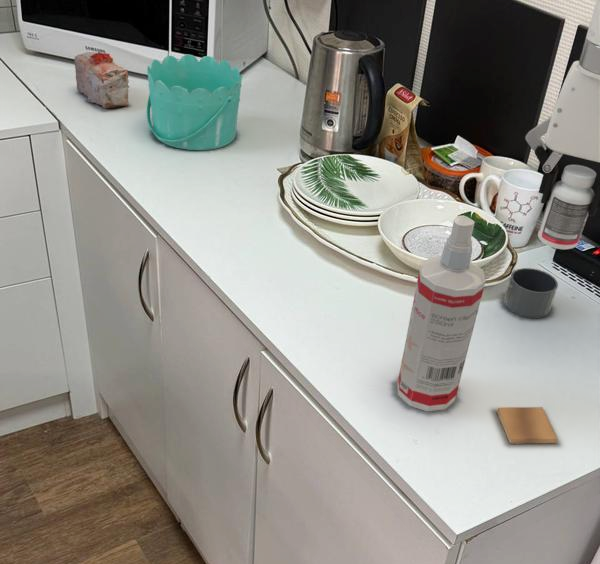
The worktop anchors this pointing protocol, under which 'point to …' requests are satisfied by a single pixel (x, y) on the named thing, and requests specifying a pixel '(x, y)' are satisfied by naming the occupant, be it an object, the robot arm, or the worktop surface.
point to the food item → (101, 79)
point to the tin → (530, 292)
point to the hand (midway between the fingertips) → (569, 204)
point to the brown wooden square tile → (526, 425)
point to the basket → (193, 102)
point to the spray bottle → (441, 323)
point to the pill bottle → (568, 208)
